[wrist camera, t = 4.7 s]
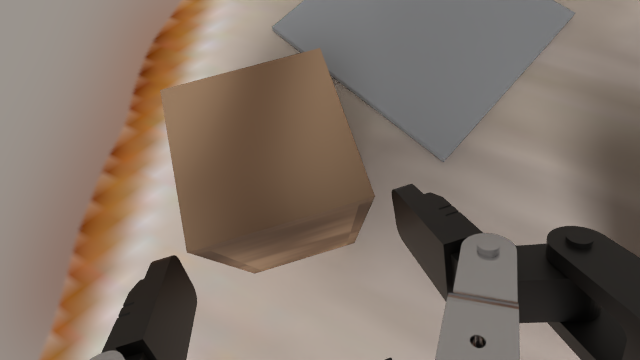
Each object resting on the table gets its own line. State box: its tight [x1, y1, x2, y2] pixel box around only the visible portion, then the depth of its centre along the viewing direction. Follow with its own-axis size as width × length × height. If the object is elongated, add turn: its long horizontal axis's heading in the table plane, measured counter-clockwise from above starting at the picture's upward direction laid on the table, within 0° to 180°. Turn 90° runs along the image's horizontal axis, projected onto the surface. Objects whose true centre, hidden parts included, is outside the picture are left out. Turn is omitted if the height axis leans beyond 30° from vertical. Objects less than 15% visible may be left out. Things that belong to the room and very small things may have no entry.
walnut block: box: [160, 48, 375, 273], centre depth 16 cm, size 6×6×10 cm
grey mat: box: [272, 0, 575, 162], centre depth 25 cm, size 16×16×1 cm
